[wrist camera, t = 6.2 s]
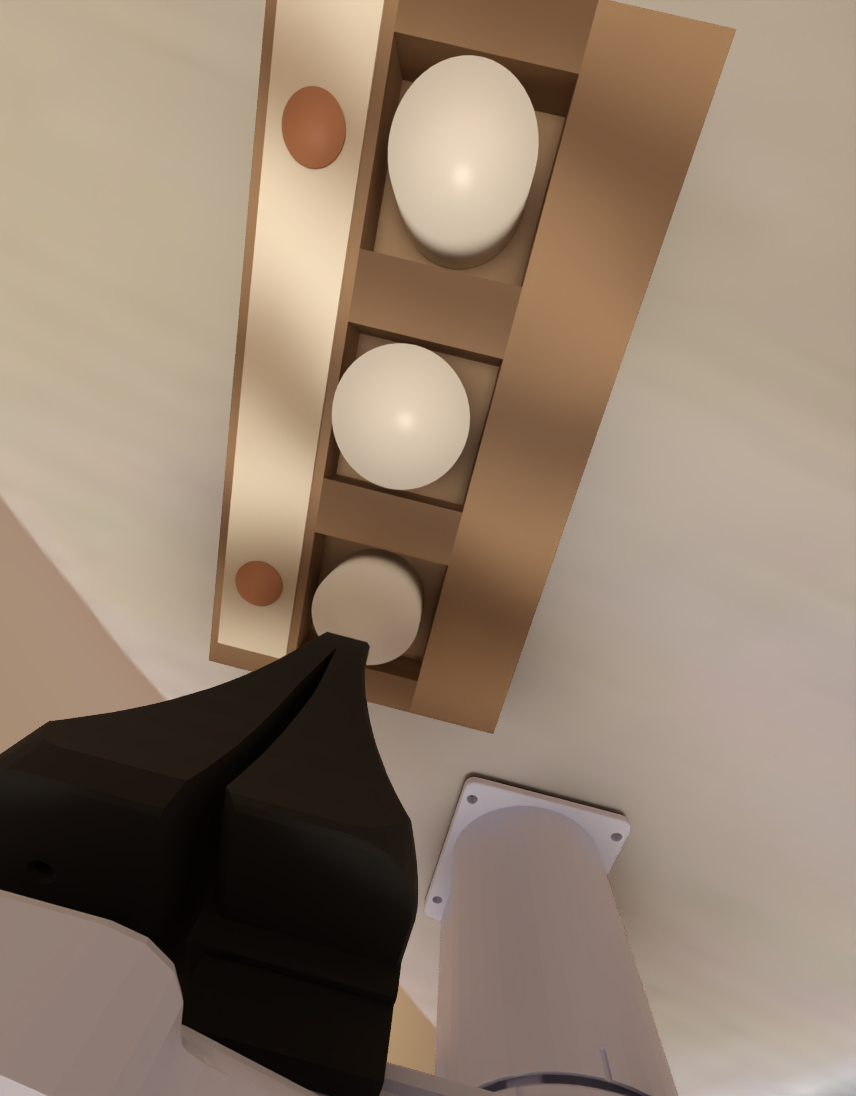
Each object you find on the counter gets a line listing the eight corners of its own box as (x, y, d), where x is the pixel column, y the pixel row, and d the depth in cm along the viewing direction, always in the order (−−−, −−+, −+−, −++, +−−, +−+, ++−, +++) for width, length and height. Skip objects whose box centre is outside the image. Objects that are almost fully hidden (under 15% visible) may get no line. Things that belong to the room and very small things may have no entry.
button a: (505, 282, 13) (513, 255, 11) (387, 253, 13) (374, 223, 11) (543, 132, 12) (559, 74, 10) (414, 102, 12) (405, 39, 10)
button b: (412, 649, 17) (406, 676, 15) (322, 625, 17) (304, 649, 15) (434, 563, 16) (430, 580, 14) (337, 538, 16) (320, 552, 14)
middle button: (452, 494, 14) (450, 504, 12) (341, 466, 14) (322, 471, 12) (483, 373, 13) (486, 362, 11) (362, 343, 13) (344, 327, 11)
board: (490, 702, 18) (493, 737, 16) (235, 636, 18) (205, 663, 16) (692, 94, 12) (741, 21, 10) (303, 5, 12) (269, -86, 10)
